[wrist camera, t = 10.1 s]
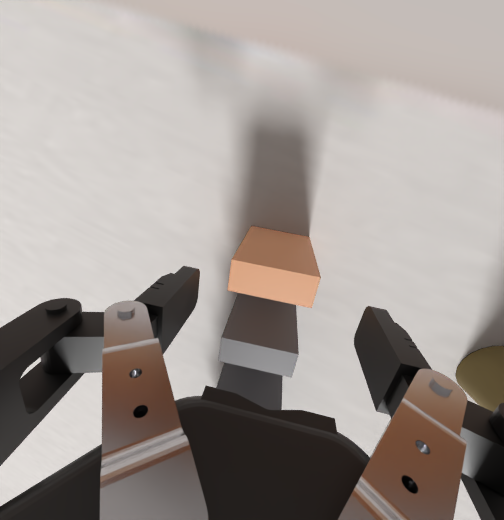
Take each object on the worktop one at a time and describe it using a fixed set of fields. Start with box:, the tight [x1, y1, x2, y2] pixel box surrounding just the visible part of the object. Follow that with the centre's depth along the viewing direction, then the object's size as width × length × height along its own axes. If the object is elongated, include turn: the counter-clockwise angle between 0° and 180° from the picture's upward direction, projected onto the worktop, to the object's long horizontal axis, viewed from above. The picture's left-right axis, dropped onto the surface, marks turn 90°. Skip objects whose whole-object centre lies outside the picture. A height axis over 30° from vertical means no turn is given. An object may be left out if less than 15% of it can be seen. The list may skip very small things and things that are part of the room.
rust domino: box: [228, 226, 321, 308], centre depth 18 cm, size 5×2×8 cm, turn 81°
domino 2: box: [217, 363, 282, 410], centre depth 22 cm, size 5×2×8 cm, turn 81°
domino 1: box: [218, 293, 298, 378], centre depth 20 cm, size 5×2×8 cm, turn 81°
